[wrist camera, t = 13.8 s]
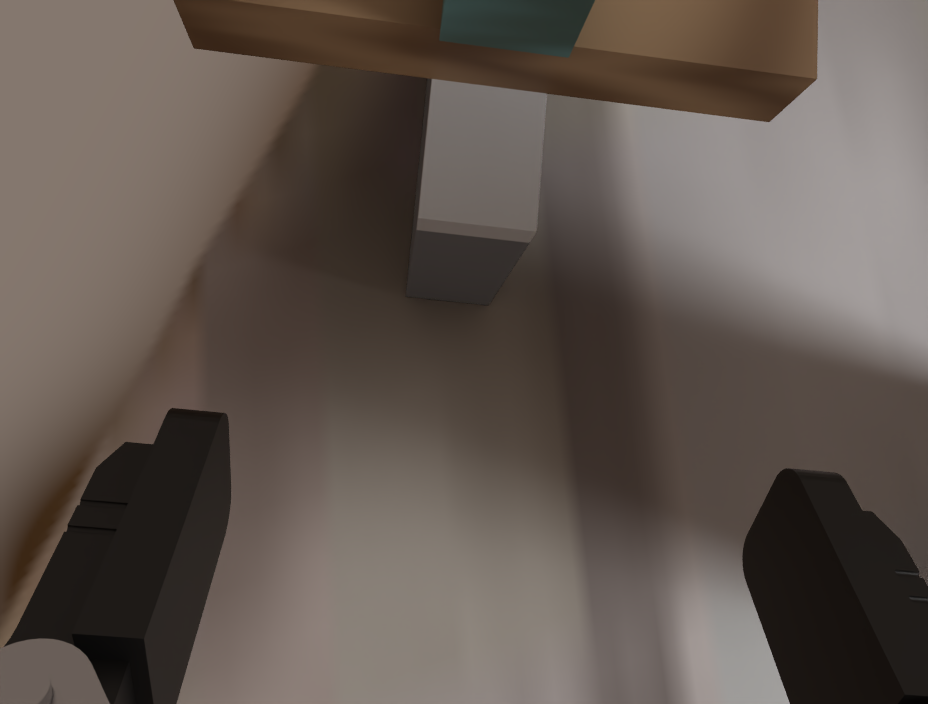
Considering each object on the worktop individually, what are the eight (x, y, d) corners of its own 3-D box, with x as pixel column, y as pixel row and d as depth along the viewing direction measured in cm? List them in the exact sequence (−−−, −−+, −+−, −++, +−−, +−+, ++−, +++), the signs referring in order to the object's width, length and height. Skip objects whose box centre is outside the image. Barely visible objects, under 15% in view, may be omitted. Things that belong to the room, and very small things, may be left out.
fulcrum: (509, 48, 31) (562, -122, 22) (488, 305, 30) (536, 231, 21) (431, 37, 31) (453, -139, 22) (405, 296, 29) (418, 218, 20)
